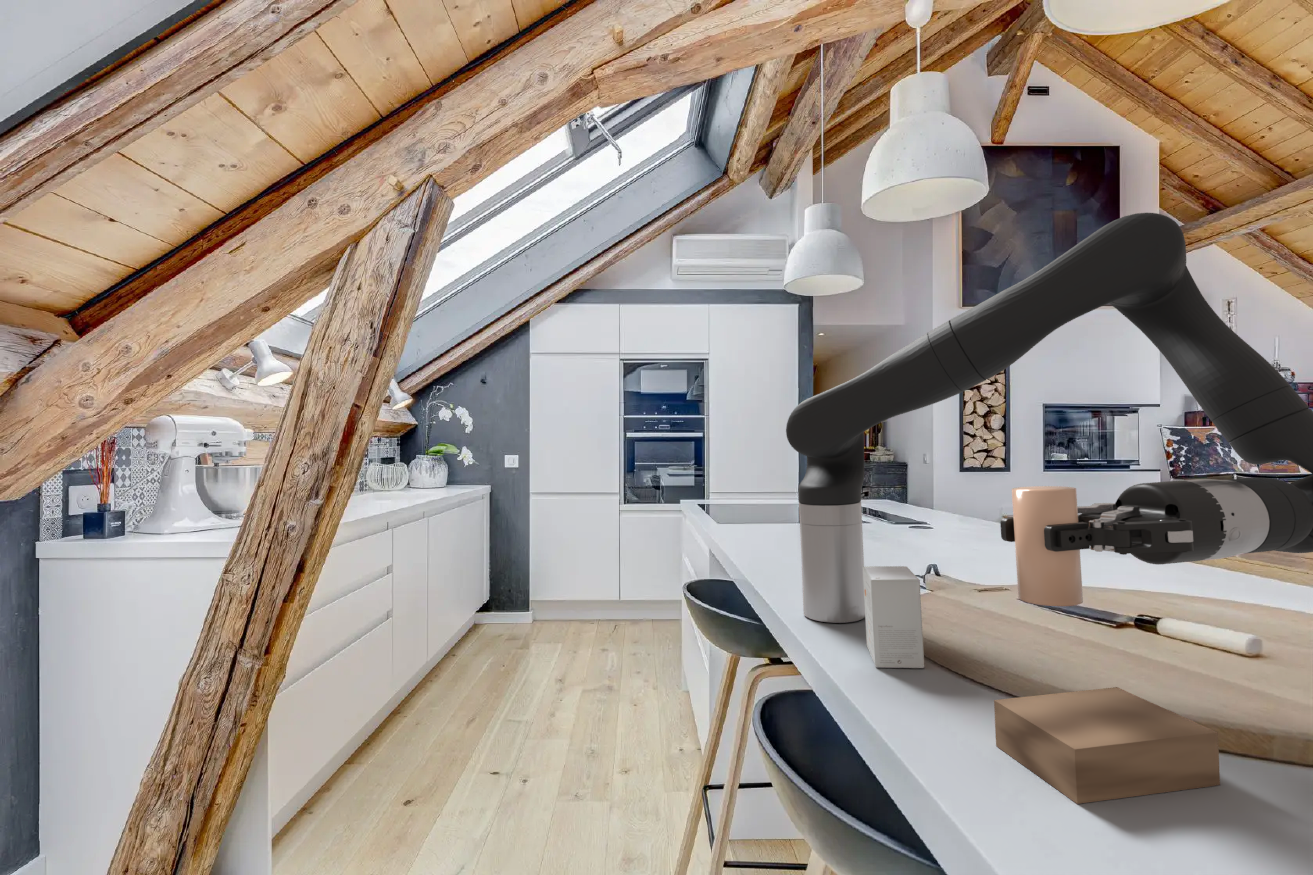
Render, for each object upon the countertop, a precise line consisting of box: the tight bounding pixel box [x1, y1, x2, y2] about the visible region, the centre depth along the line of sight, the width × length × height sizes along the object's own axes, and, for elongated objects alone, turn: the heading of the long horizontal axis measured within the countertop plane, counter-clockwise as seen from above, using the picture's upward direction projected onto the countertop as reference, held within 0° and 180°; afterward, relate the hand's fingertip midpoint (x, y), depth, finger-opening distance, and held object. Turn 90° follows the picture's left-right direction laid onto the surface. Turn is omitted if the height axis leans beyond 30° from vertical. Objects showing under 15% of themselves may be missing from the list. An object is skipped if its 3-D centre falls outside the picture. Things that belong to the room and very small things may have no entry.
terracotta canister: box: [1011, 485, 1084, 607], centre depth 58 cm, size 5×5×10 cm
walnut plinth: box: [993, 686, 1221, 805], centre depth 52 cm, size 9×12×4 cm
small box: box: [863, 565, 925, 669], centre depth 78 cm, size 8×6×10 cm
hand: (1025, 534), depth 57 cm, fingers closed on terracotta canister, 5 cm apart
